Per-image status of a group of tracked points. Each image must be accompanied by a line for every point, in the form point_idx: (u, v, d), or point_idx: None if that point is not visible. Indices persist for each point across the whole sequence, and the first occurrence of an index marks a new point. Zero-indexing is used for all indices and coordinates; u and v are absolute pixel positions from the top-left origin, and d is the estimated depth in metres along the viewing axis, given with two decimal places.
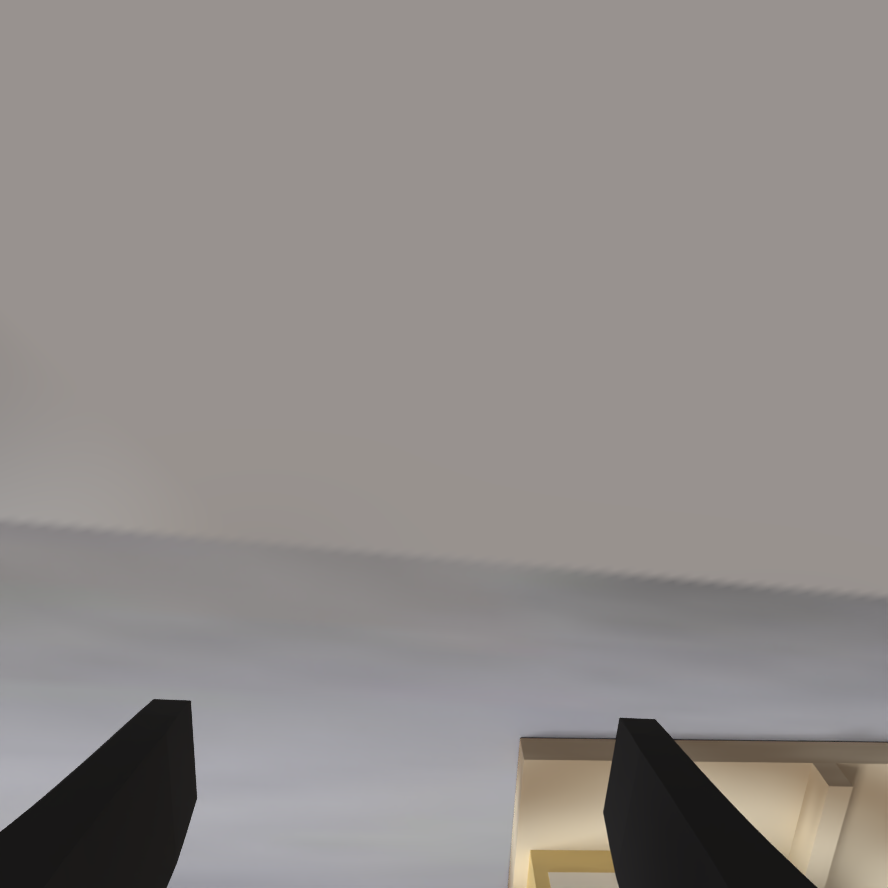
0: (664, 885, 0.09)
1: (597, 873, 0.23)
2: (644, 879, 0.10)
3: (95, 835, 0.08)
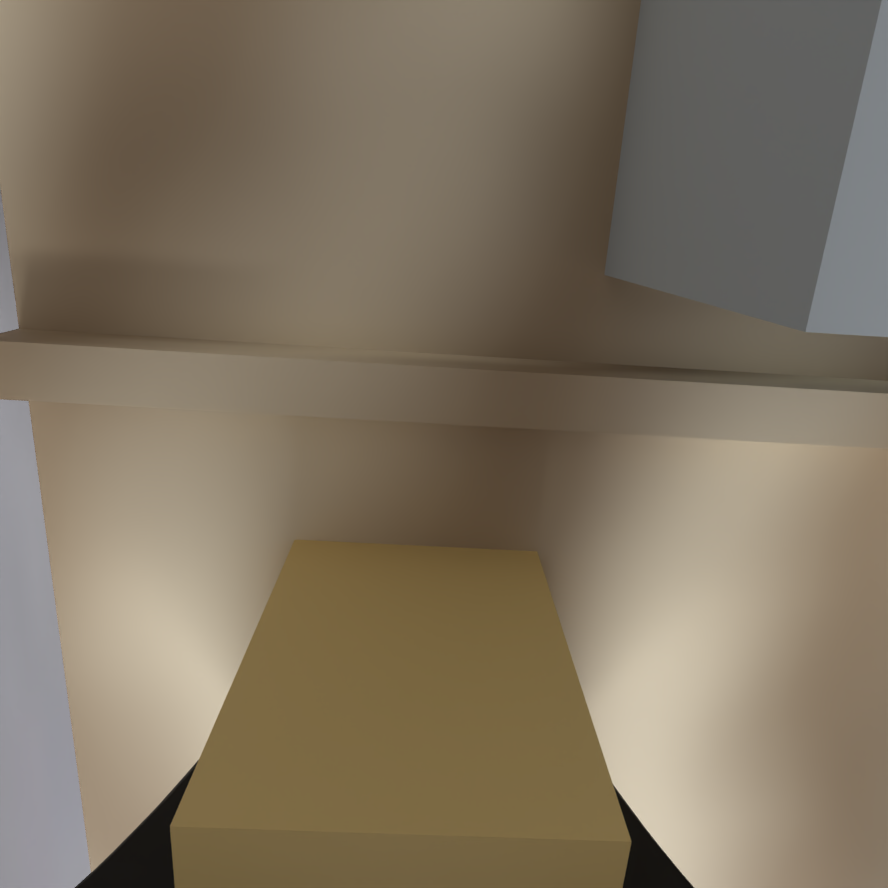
0: None
1: None
2: None
3: None
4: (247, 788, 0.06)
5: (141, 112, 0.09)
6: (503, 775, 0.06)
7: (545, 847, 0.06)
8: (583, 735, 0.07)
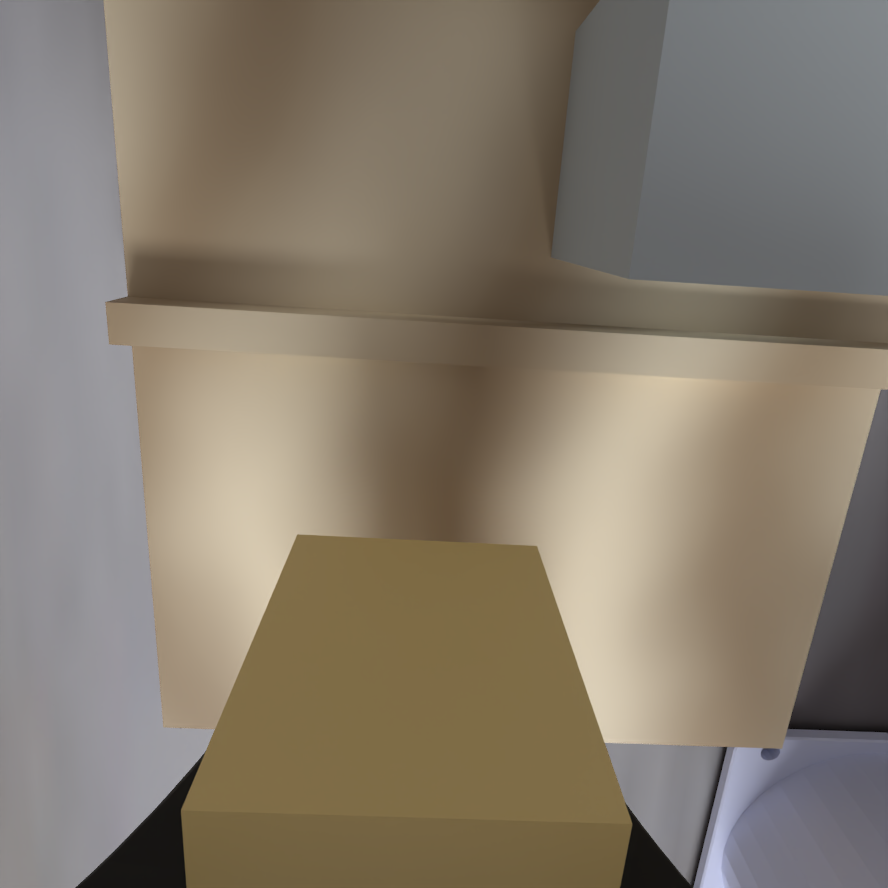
0: None
1: None
2: None
3: None
4: (256, 774, 0.06)
5: (221, 142, 0.13)
6: (507, 760, 0.07)
7: (548, 830, 0.06)
8: (584, 723, 0.07)
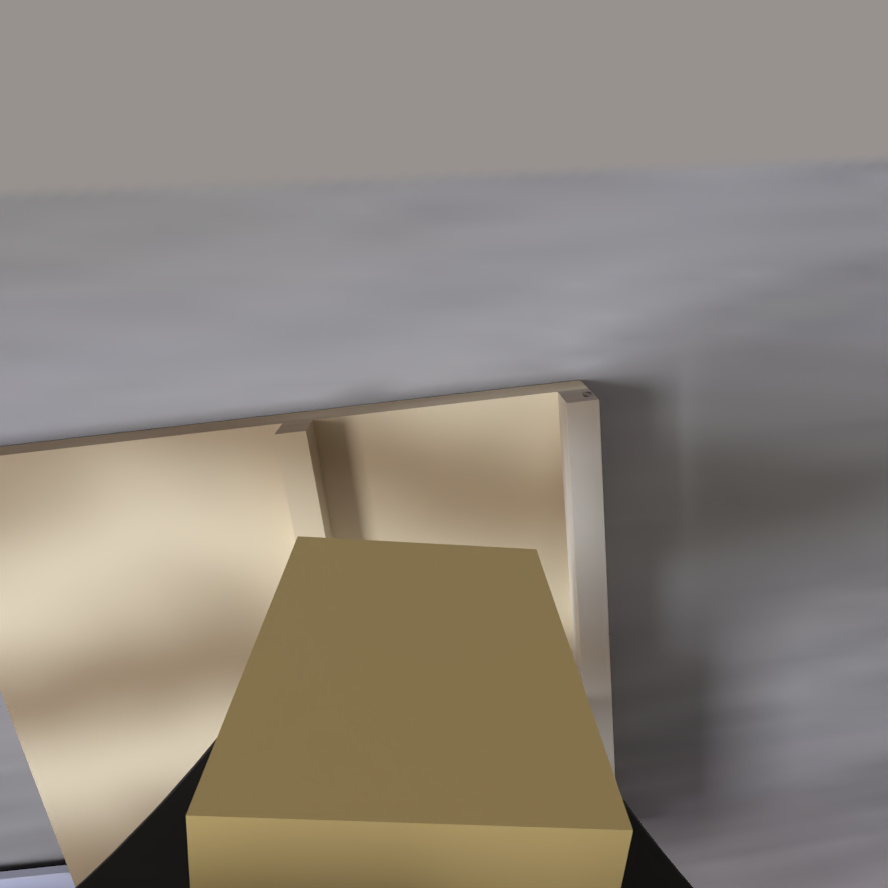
0: None
1: None
2: None
3: None
4: (260, 779, 0.06)
5: (434, 477, 0.18)
6: (508, 765, 0.07)
7: (549, 836, 0.06)
8: (585, 728, 0.07)
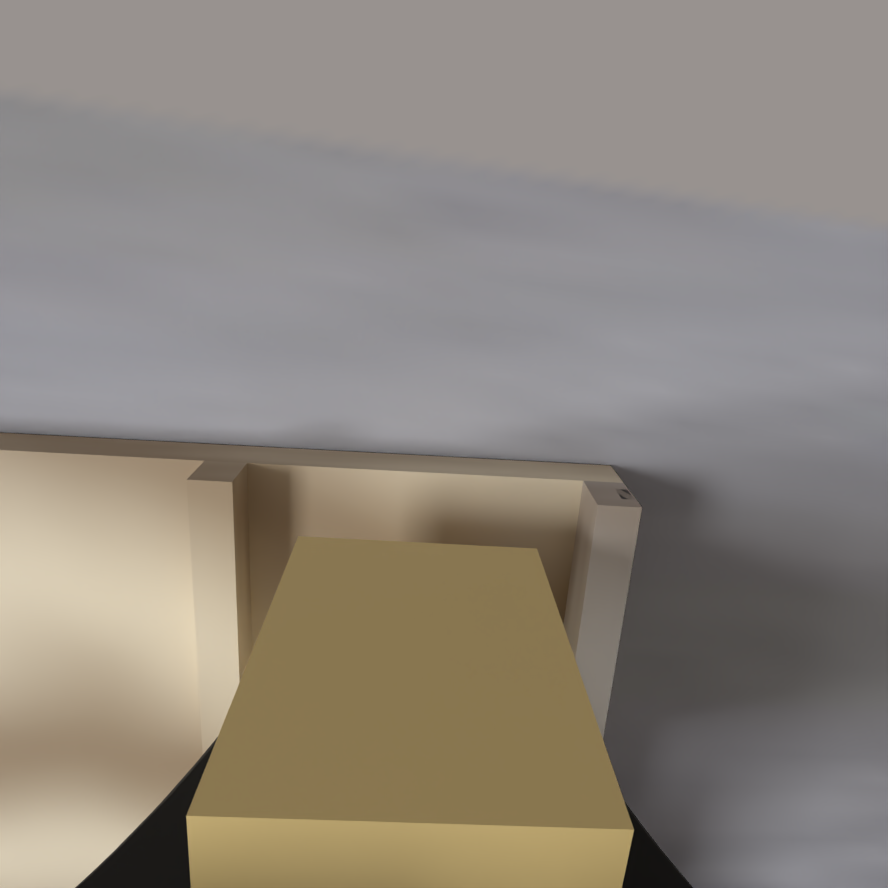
0: None
1: None
2: None
3: None
4: (260, 779, 0.06)
5: None
6: (509, 765, 0.07)
7: (550, 835, 0.06)
8: (586, 727, 0.07)
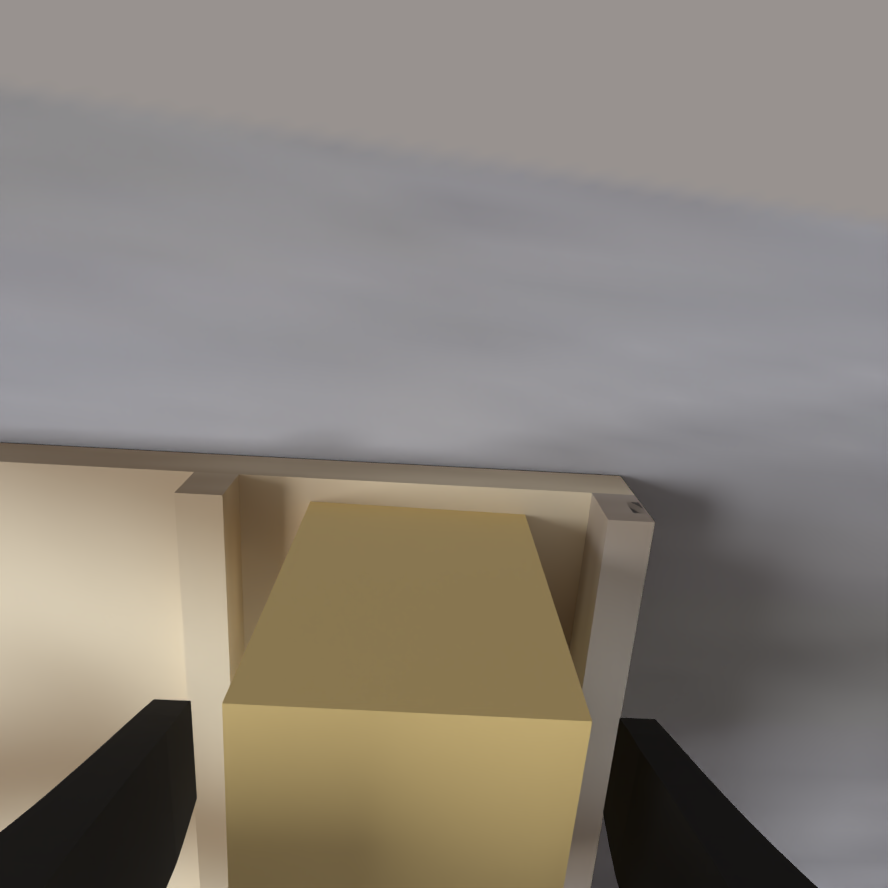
0: (664, 885, 0.09)
1: None
2: (644, 879, 0.10)
3: (95, 835, 0.08)
4: (282, 680, 0.08)
5: None
6: (491, 675, 0.08)
7: (522, 725, 0.07)
8: (558, 650, 0.09)
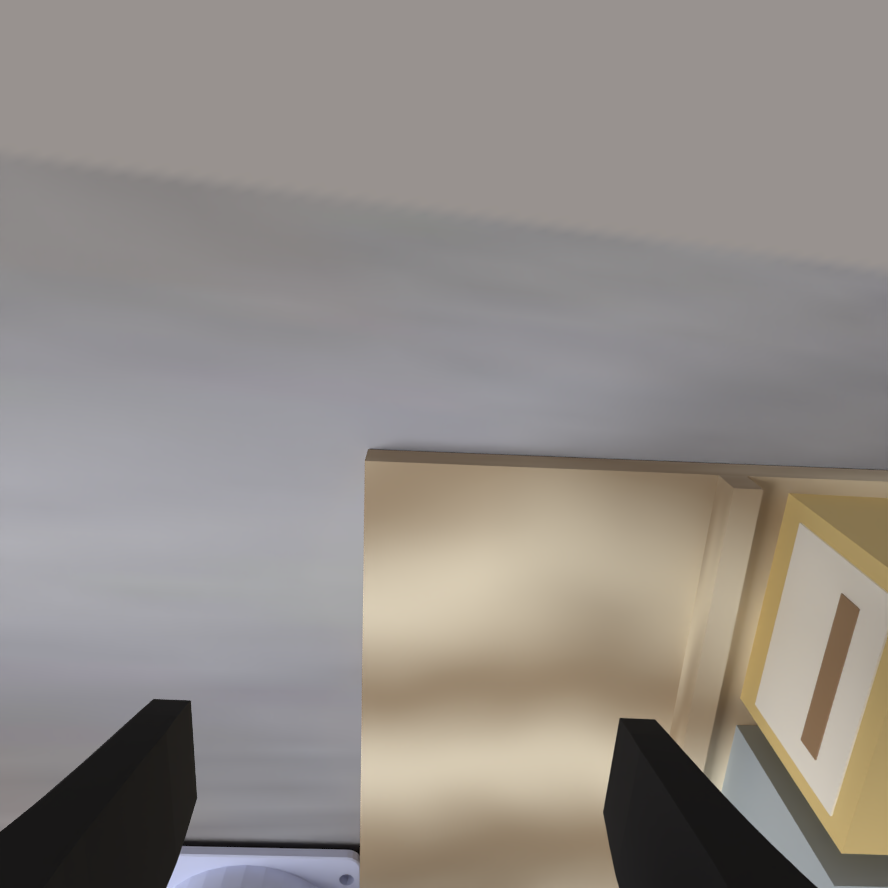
0: (664, 885, 0.09)
1: (767, 656, 0.20)
2: (644, 879, 0.10)
3: (95, 835, 0.08)
4: None
5: None
6: None
7: None
8: None
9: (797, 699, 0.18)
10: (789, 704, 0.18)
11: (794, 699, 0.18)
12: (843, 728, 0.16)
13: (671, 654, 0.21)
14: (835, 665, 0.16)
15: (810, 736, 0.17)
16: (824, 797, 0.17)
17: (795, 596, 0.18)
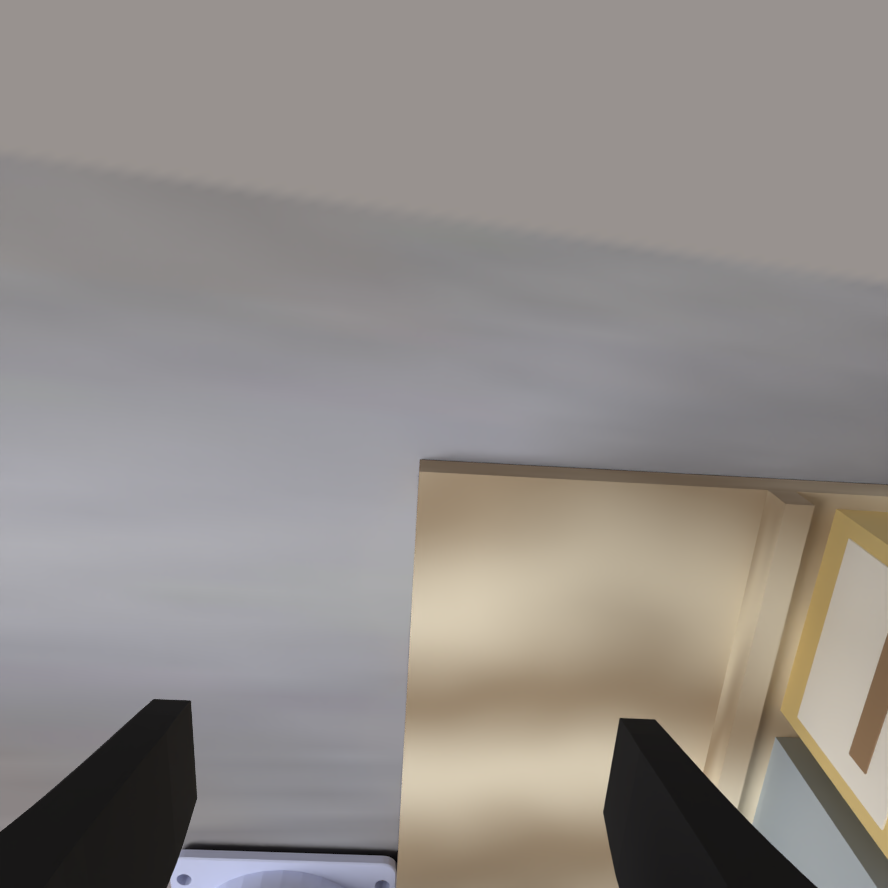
0: (664, 885, 0.09)
1: (811, 669, 0.20)
2: (644, 879, 0.10)
3: (95, 835, 0.08)
4: None
5: None
6: None
7: None
8: None
9: (845, 713, 0.18)
10: (836, 718, 0.19)
11: (841, 713, 0.18)
12: None
13: (714, 666, 0.21)
14: (887, 680, 0.17)
15: (860, 750, 0.17)
16: (875, 811, 0.17)
17: (843, 611, 0.19)
